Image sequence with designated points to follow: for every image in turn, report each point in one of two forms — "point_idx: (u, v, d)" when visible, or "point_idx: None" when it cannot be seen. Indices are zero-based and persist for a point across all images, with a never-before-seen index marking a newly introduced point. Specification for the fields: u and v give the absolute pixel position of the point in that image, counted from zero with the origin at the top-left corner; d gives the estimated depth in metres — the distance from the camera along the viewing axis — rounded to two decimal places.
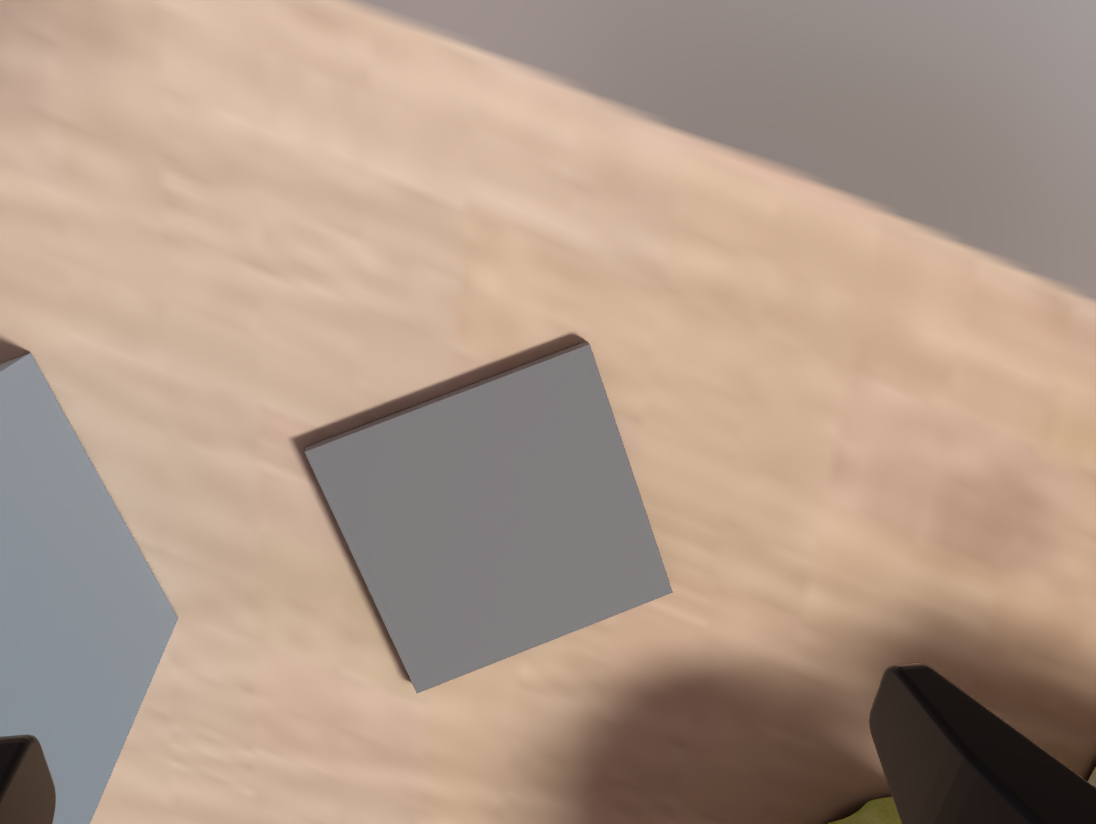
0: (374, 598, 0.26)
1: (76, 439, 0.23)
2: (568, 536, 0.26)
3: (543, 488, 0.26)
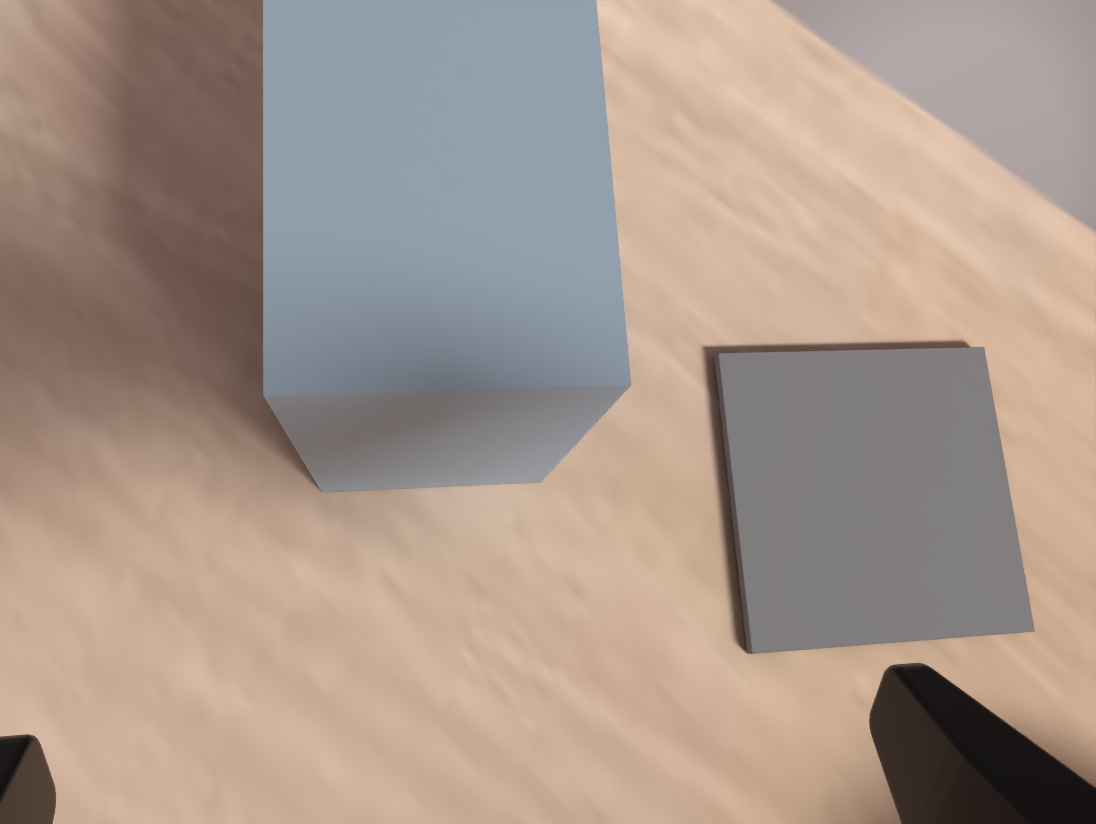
0: (740, 522, 0.24)
1: None
2: (938, 526, 0.25)
3: (923, 467, 0.25)
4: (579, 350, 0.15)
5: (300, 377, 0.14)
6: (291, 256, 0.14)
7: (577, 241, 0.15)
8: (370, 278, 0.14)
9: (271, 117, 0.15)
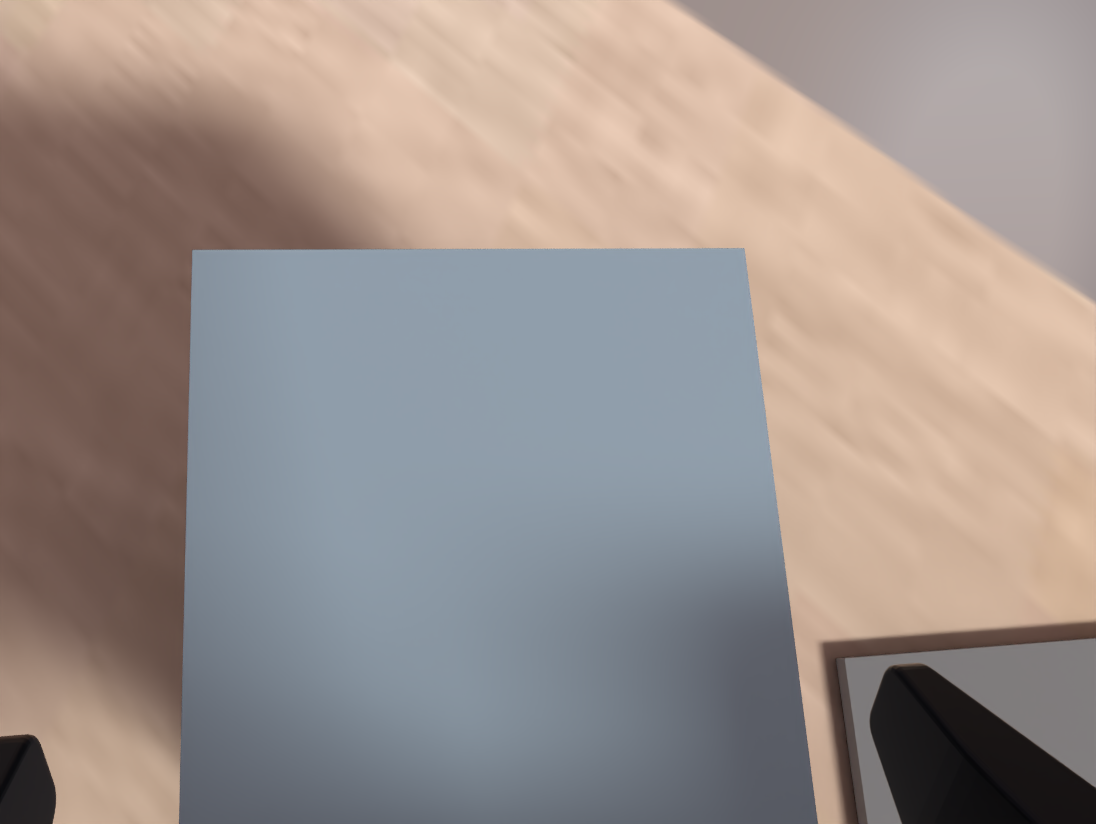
0: None
1: None
2: None
3: None
4: None
5: None
6: None
7: (746, 817, 0.08)
8: None
9: (199, 612, 0.08)
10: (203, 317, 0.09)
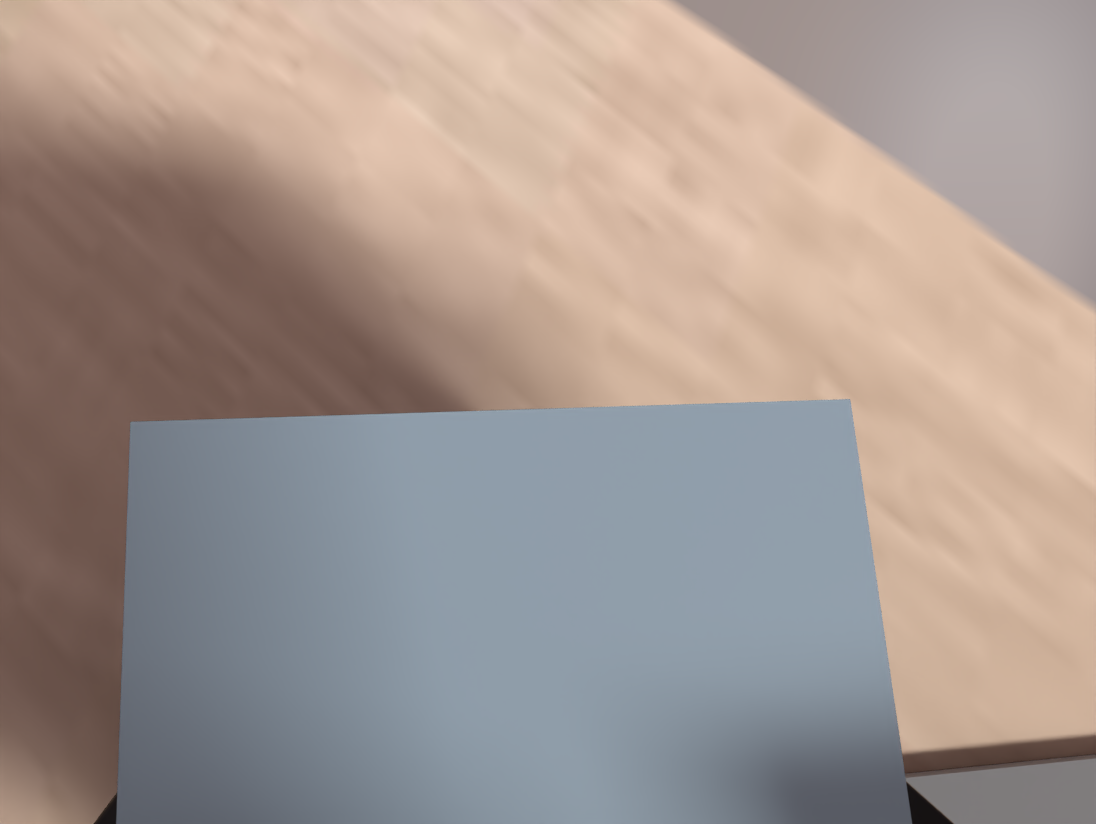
0: None
1: None
2: None
3: None
4: None
5: None
6: None
7: None
8: None
9: None
10: (144, 515, 0.07)
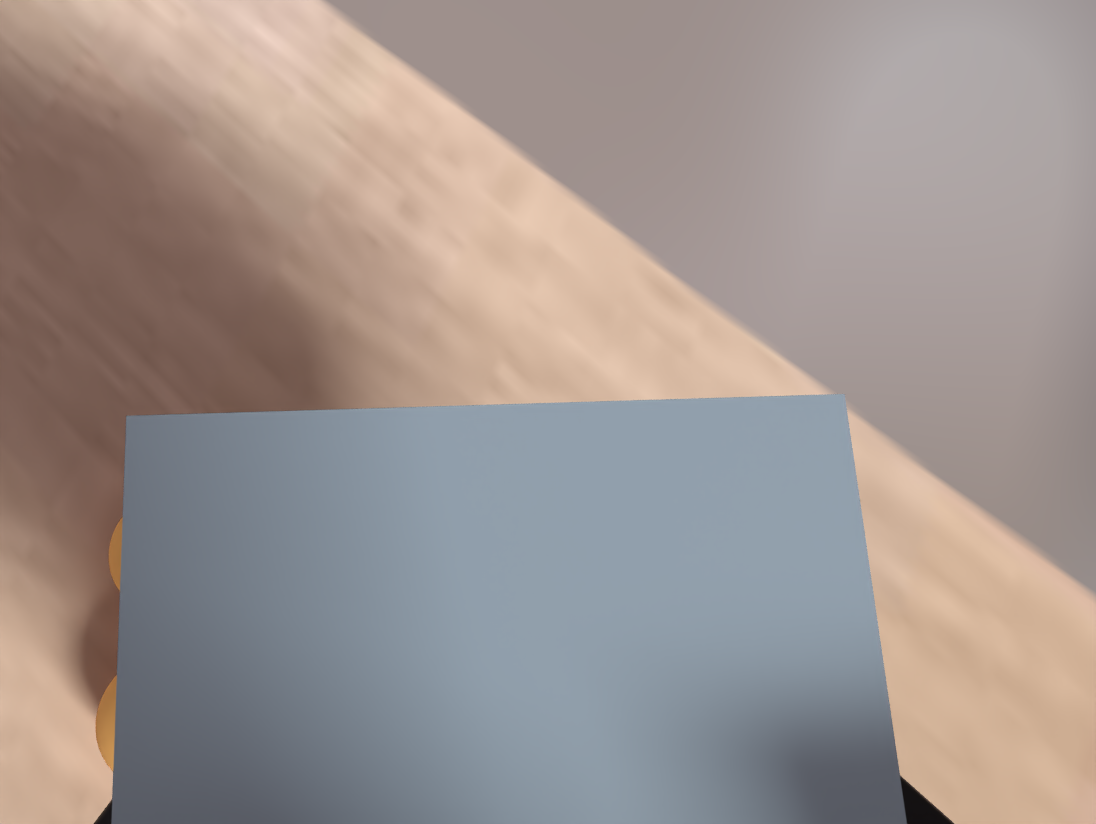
0: None
1: None
2: None
3: None
4: None
5: None
6: None
7: None
8: None
9: None
10: (140, 508, 0.07)
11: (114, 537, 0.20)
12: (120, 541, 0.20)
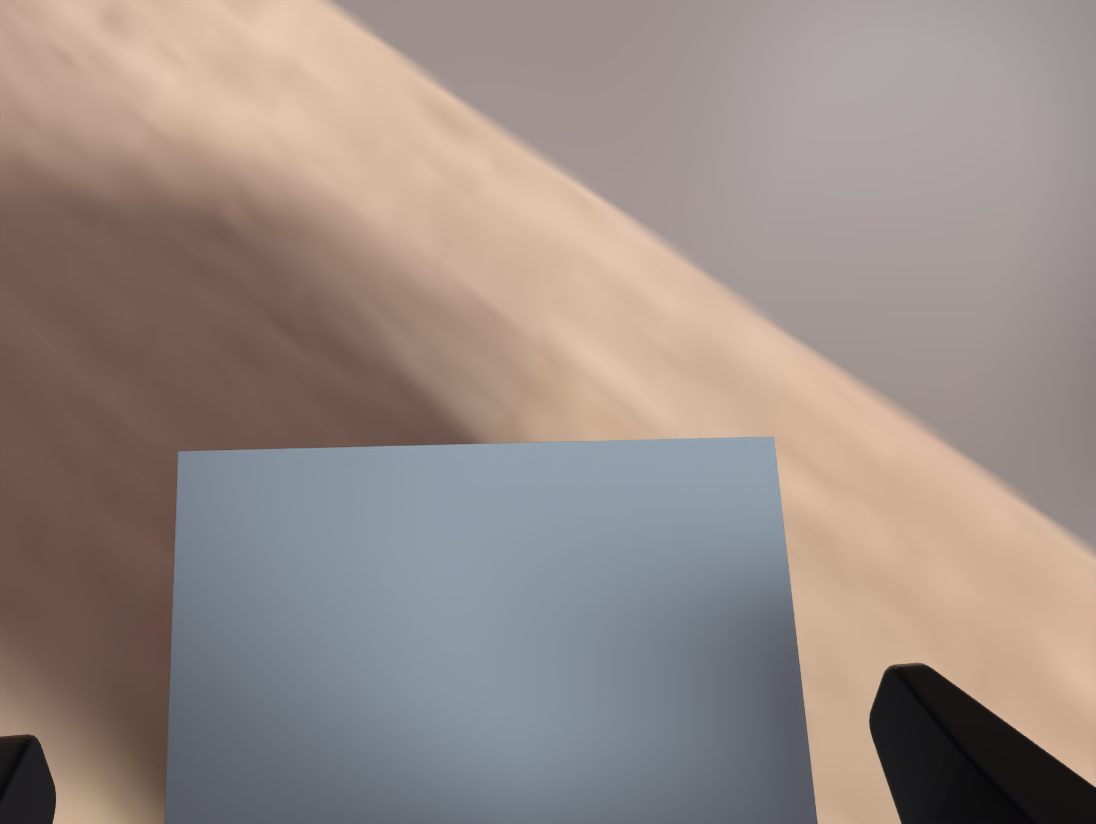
0: None
1: None
2: None
3: None
4: None
5: None
6: None
7: None
8: None
9: None
10: (189, 528, 0.08)
11: None
12: None
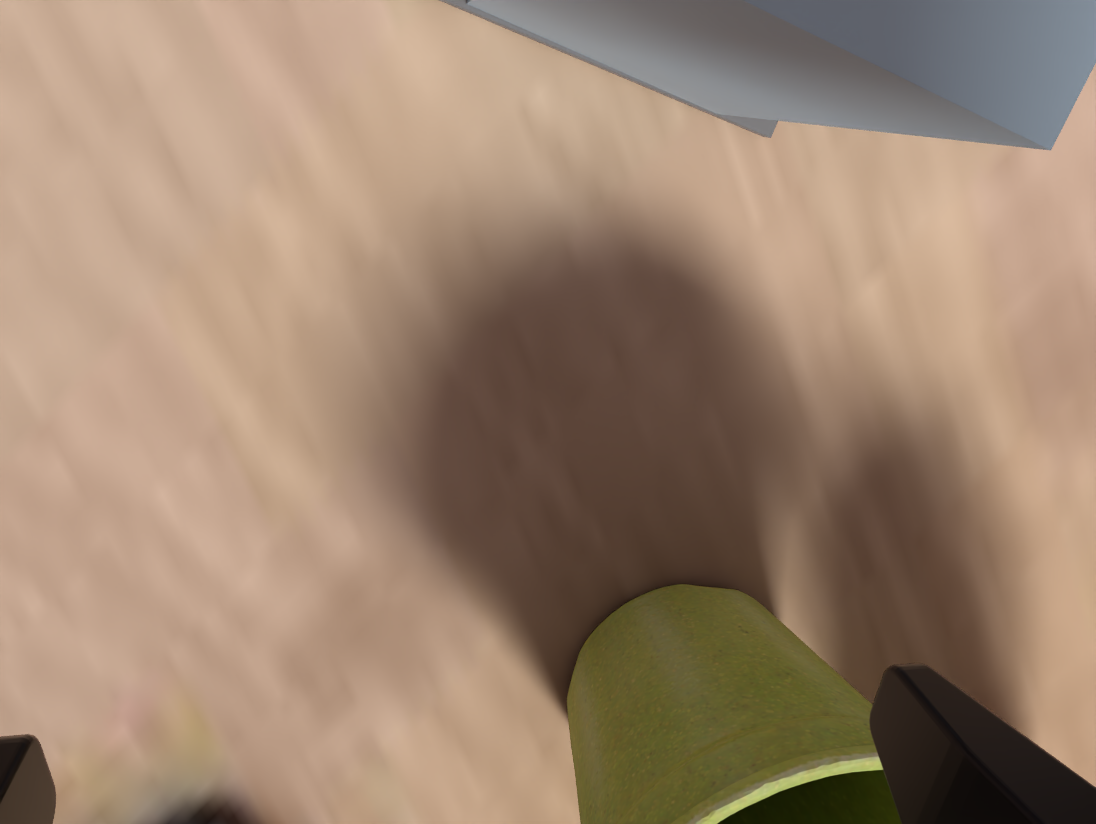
0: None
1: None
2: None
3: None
4: (1023, 68, 0.10)
5: None
6: None
7: None
8: None
9: None
10: None
11: None
12: None
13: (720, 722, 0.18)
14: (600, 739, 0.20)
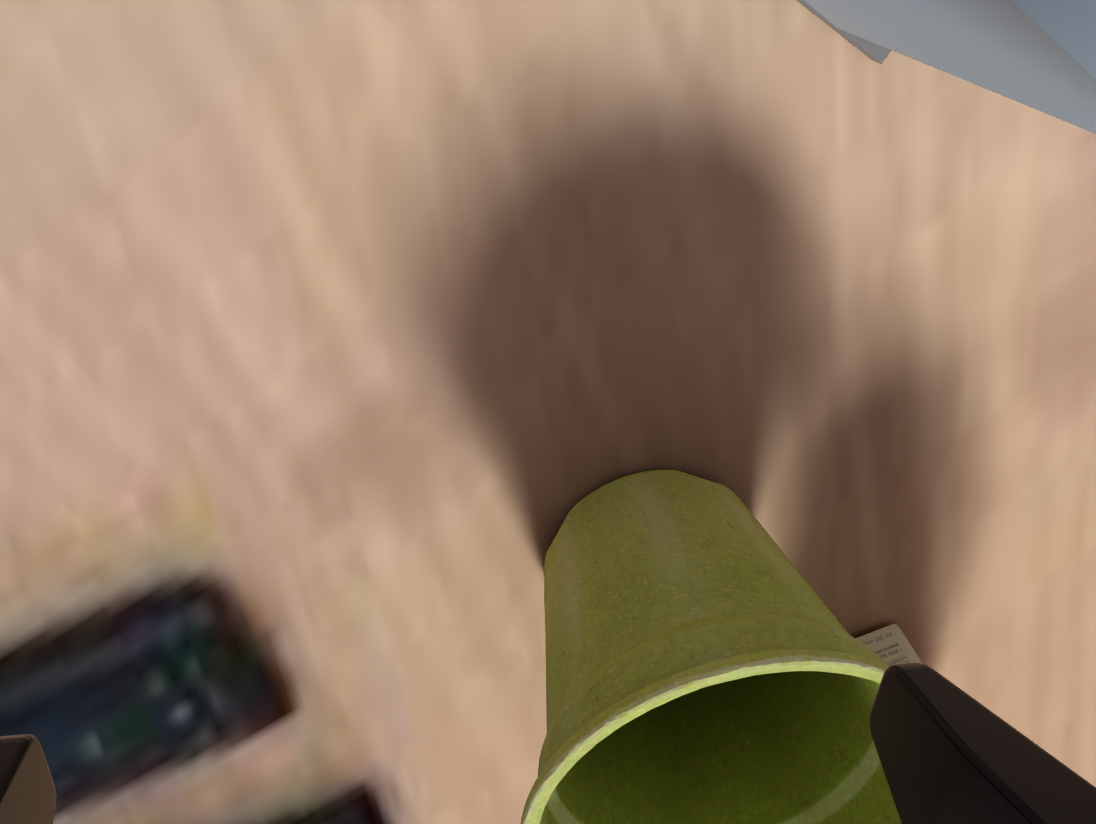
0: None
1: None
2: None
3: None
4: None
5: None
6: None
7: None
8: None
9: None
10: None
11: None
12: None
13: (703, 604, 0.19)
14: (582, 596, 0.22)
